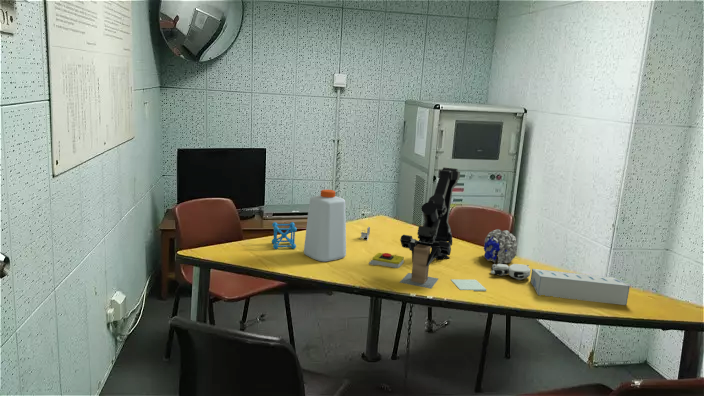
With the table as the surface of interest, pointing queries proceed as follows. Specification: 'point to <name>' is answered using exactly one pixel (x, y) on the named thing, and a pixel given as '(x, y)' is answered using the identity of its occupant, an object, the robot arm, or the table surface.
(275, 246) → the molecular structure
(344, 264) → the table surface
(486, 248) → the educational model
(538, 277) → the warehouse
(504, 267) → the robot toy
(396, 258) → the emergency button
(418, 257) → the walnut block
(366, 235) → the architectural model
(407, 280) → the gray square plate
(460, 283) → the pad
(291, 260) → the table surface
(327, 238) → the plastic bottle
